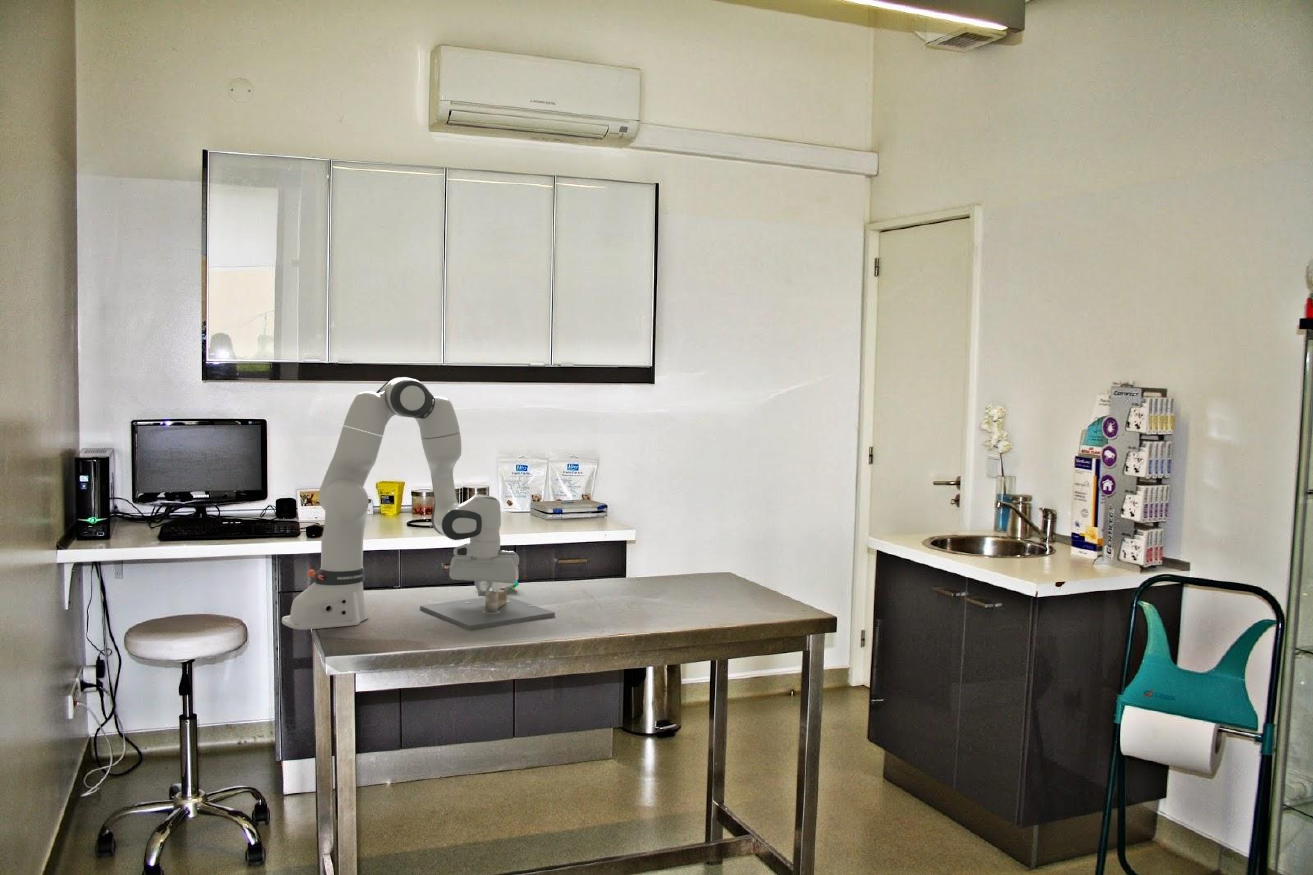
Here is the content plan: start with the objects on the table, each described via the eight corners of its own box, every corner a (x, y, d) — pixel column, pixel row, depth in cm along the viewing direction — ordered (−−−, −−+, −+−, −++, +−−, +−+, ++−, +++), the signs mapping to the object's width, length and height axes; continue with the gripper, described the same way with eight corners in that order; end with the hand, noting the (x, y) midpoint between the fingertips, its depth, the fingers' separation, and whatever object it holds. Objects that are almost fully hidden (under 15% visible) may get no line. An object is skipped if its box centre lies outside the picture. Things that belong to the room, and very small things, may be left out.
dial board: (469, 630, 269) (469, 624, 269) (420, 609, 290) (420, 605, 290) (554, 616, 288) (554, 611, 288) (502, 598, 309) (502, 594, 309)
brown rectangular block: (483, 612, 284) (483, 594, 284) (498, 601, 298) (498, 584, 297) (495, 613, 283) (496, 594, 283) (509, 602, 297) (510, 585, 297)
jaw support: (502, 586, 312) (488, 562, 316) (488, 603, 316) (474, 579, 320) (529, 581, 321) (515, 558, 325) (516, 598, 325) (502, 575, 329)
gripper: (522, 549, 296) (520, 596, 296) (455, 545, 298) (454, 591, 299) (516, 553, 289) (514, 600, 290) (448, 549, 292) (446, 596, 293)
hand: (483, 596), depth 295 cm, fingers closed
